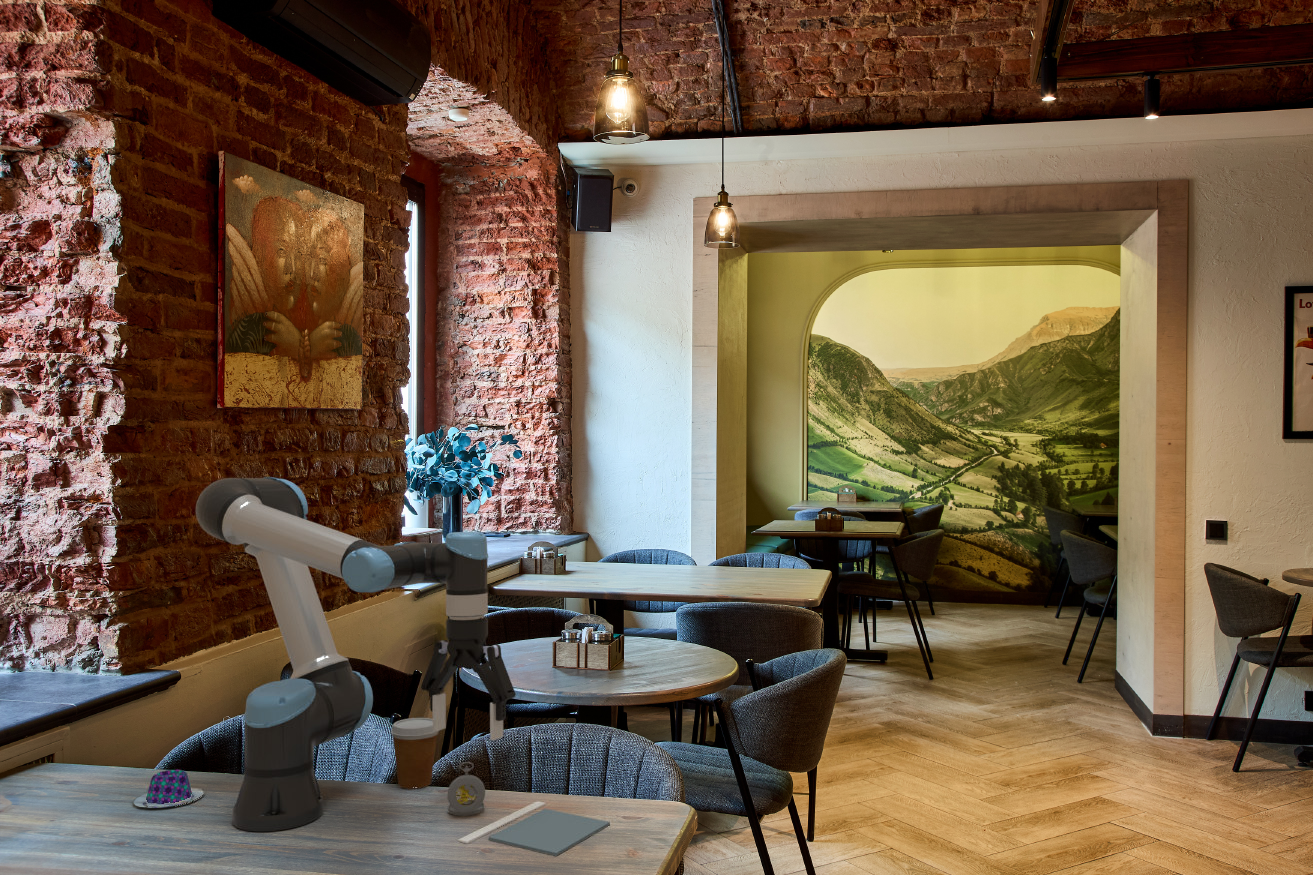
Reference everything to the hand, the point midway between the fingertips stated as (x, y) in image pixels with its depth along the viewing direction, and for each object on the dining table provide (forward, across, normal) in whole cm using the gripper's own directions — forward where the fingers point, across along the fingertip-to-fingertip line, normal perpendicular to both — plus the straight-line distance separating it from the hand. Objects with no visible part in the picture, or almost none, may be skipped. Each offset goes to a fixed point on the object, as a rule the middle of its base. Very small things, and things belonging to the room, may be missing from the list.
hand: (467, 734), depth 174 cm
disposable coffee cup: (+14, +20, -8) cm, 26 cm away
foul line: (+14, -8, 0) cm, 17 cm away
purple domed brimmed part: (+14, +54, +22) cm, 60 cm away
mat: (+14, -18, 0) cm, 24 cm away
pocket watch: (+14, 0, 0) cm, 15 cm away
